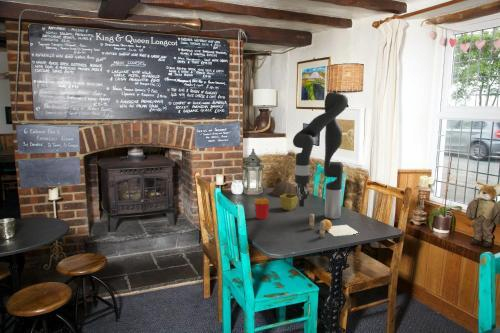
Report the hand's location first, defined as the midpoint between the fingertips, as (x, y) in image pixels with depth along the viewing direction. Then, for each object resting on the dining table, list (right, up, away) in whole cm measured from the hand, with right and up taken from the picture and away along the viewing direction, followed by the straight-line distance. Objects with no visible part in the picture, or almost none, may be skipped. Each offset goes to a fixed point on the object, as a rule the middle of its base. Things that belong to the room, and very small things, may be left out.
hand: (301, 206), depth 203 cm
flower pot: (-2, -7, +48) cm, 49 cm away
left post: (+7, -13, +11) cm, 19 cm away
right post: (+10, -16, -2) cm, 19 cm away
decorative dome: (-1, 0, +86) cm, 86 cm away
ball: (+14, -11, +8) cm, 20 cm away
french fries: (-20, -10, +30) cm, 37 cm away
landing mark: (+22, -14, +8) cm, 27 cm away
